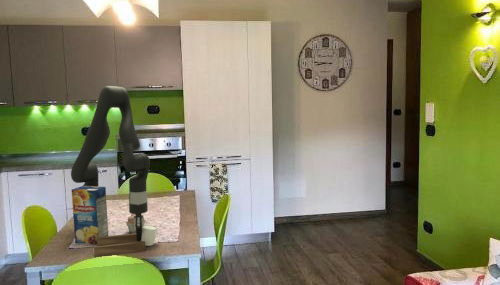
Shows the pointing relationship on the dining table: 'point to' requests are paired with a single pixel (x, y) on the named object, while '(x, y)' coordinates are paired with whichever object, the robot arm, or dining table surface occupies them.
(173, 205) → the dining table surface
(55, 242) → the dining table surface
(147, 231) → the white tapered cylinder
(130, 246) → the walnut channel
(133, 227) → the cupcake
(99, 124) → the robot arm
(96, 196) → the juice carton
